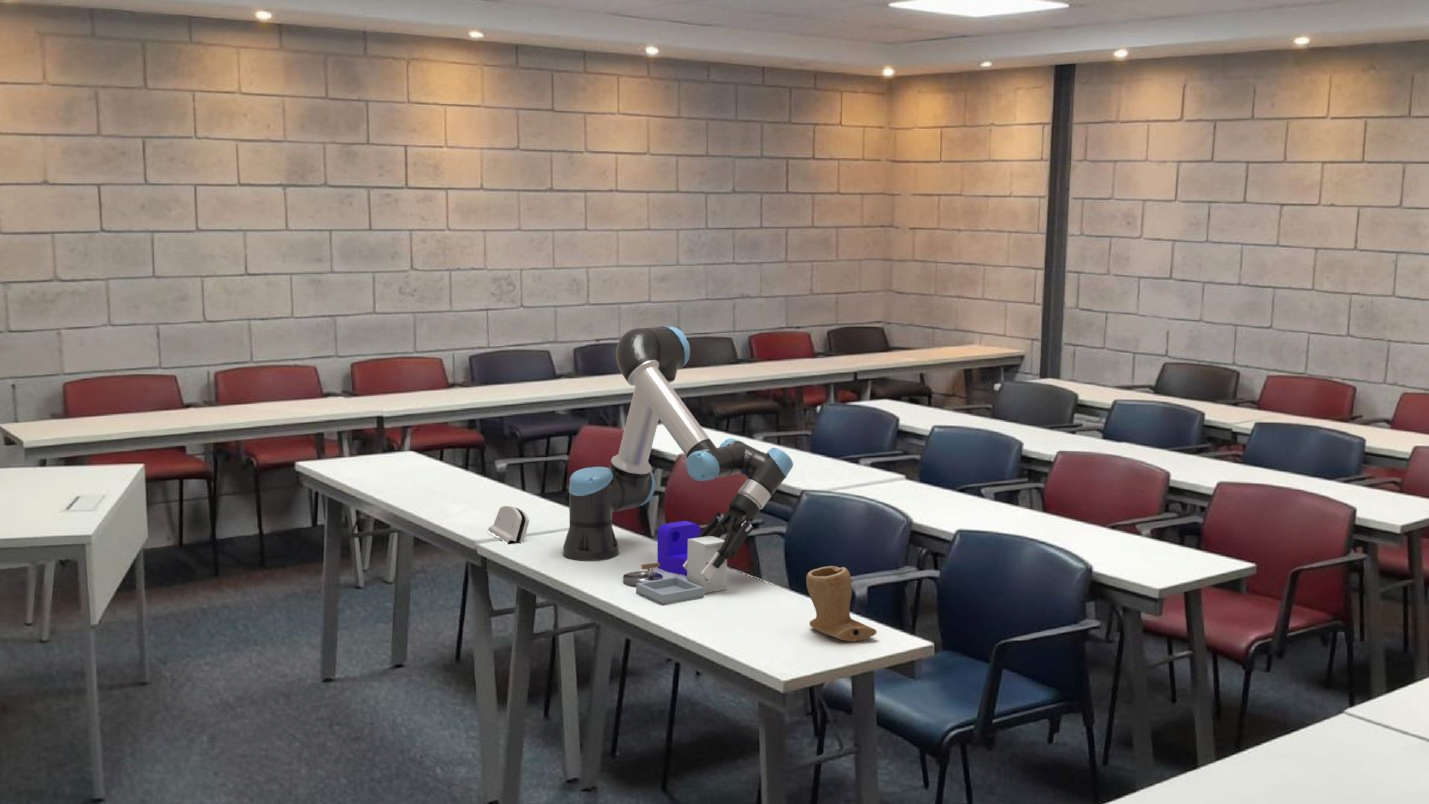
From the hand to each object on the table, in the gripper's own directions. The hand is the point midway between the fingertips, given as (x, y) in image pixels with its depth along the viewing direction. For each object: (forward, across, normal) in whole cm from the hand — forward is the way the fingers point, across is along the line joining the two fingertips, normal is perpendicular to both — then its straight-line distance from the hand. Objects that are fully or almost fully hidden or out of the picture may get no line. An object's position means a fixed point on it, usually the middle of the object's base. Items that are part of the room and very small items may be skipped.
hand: (695, 572), depth 318 cm
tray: (+9, 0, +2) cm, 9 cm away
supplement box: (+1, 0, -6) cm, 6 cm away
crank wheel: (+8, +14, +1) cm, 16 cm away
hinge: (+13, +76, +6) cm, 77 cm away
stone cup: (-1, -46, -8) cm, 47 cm away
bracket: (-3, +15, -10) cm, 18 cm away
